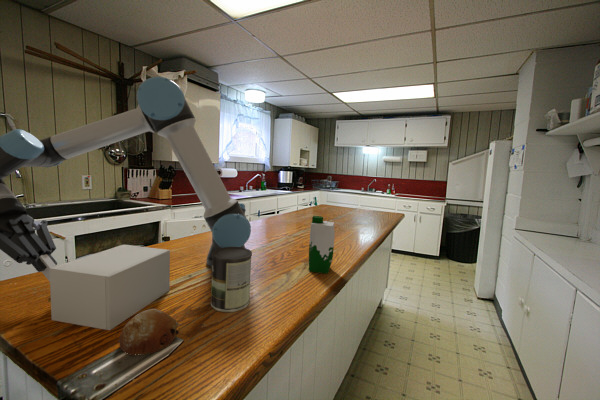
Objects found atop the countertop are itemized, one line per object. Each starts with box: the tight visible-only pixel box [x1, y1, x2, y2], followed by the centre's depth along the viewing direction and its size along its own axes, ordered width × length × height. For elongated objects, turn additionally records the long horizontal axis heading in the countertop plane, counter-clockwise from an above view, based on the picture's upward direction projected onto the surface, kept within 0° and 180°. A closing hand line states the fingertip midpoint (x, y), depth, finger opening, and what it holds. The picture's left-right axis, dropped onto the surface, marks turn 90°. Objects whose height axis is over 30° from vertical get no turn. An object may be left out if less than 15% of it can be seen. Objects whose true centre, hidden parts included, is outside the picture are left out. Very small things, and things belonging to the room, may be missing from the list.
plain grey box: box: [49, 244, 171, 331], centre depth 68 cm, size 15×20×12 cm
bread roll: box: [118, 308, 180, 356], centre depth 55 cm, size 10×10×8 cm
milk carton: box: [308, 215, 335, 275], centre depth 100 cm, size 9×9×20 cm
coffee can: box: [210, 247, 253, 313], centre depth 72 cm, size 10×10×14 cm
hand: (56, 278), depth 66 cm, fingers closed
